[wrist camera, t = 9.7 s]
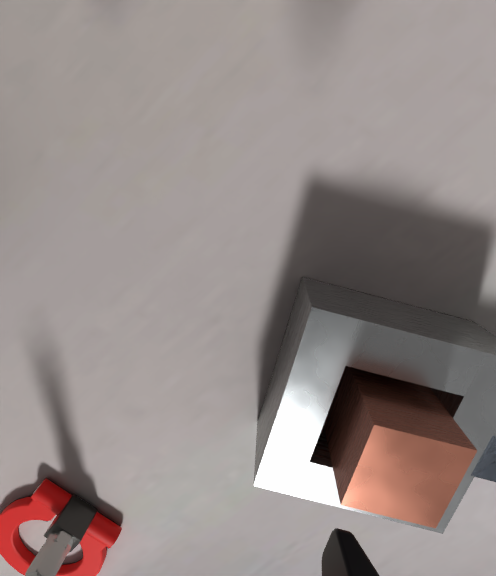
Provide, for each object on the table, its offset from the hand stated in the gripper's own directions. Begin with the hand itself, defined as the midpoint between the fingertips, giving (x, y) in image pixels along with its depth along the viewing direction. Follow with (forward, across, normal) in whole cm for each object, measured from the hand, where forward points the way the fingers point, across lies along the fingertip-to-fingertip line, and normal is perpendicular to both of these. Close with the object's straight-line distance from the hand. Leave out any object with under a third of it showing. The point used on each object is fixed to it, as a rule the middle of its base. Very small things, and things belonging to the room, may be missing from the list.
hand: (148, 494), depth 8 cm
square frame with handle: (+13, -14, +2) cm, 19 cm away
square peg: (+13, -9, +2) cm, 16 cm away
